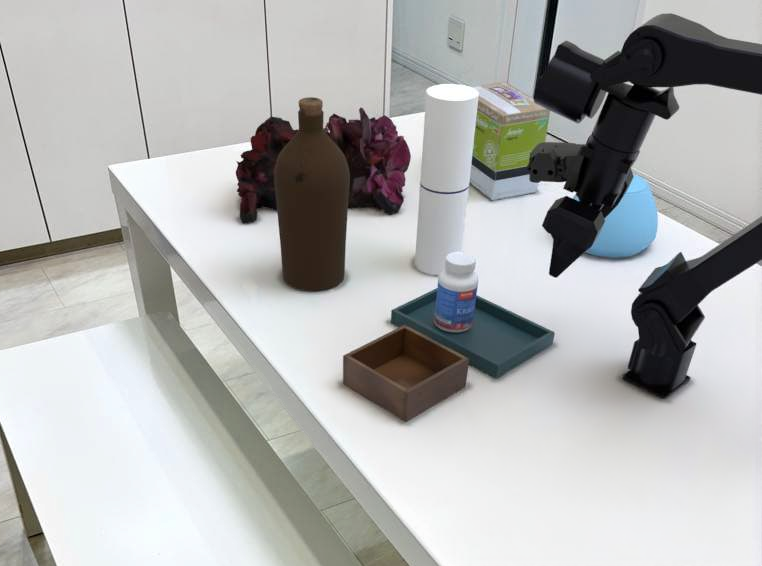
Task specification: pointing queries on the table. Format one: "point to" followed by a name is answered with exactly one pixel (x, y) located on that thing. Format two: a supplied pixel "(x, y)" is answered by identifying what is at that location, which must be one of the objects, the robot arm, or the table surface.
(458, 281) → the pill bottle
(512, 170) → the tea box
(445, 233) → the cylindrical container
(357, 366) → the open box
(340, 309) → the table surface
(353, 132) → the flower arrangement
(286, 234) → the olive oil
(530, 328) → the tray
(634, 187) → the sugar bowl
